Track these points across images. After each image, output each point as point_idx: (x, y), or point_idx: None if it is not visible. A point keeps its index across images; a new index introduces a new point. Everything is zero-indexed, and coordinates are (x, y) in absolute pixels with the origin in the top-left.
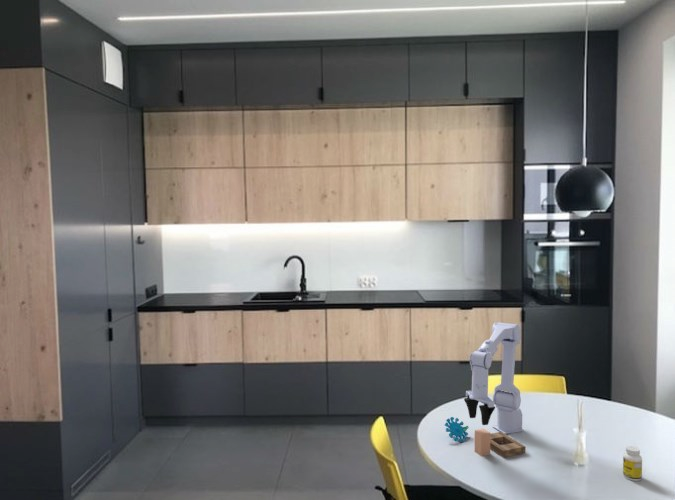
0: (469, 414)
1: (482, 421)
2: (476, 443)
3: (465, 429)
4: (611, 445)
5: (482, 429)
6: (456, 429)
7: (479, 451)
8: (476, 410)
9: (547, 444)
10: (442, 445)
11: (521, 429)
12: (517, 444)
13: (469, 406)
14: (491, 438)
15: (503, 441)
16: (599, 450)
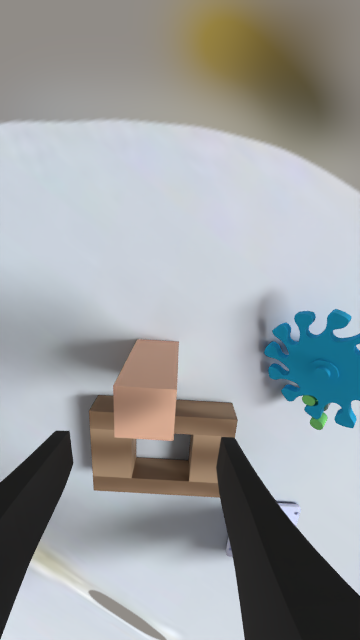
0: (239, 456)
1: (40, 450)
2: (163, 357)
3: (307, 406)
4: (67, 632)
5: (168, 430)
6: (319, 365)
7: (145, 345)
8: (230, 540)
9: (126, 543)
10: (284, 258)
11: (230, 552)
12: (116, 479)
13: (260, 549)
14: (195, 440)
15: (187, 465)
16: (53, 602)
